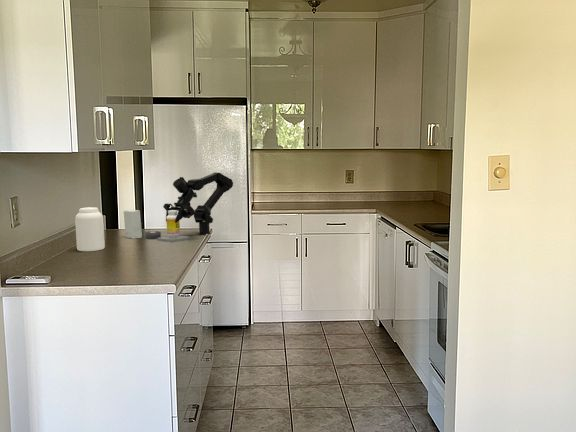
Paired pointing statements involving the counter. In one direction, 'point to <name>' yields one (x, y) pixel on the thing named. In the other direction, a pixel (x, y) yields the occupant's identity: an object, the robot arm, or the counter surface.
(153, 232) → the dark grey thick disc
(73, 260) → the counter surface
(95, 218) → the white jar
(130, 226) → the skincare box
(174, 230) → the supplement bottle
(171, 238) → the grey flat square piece
